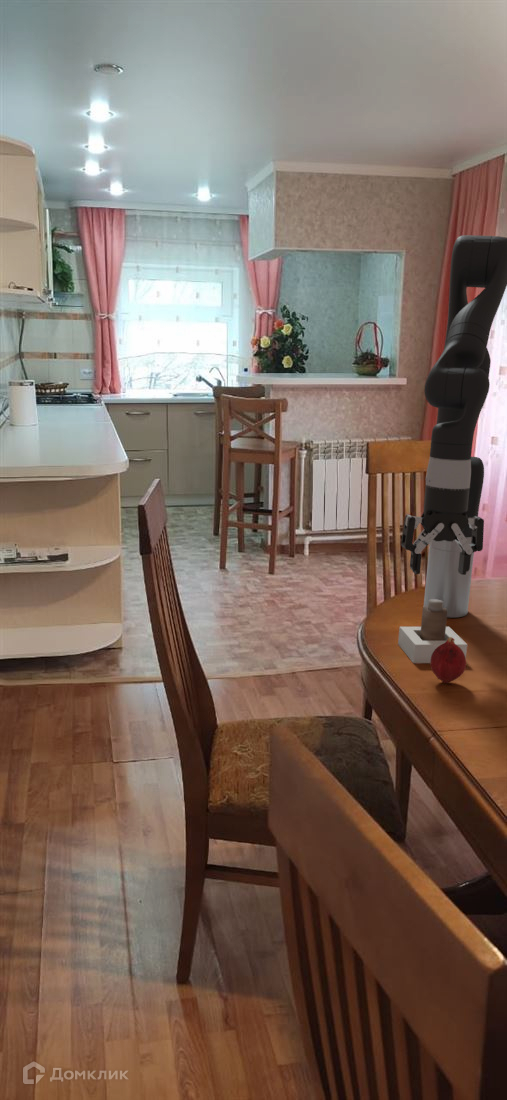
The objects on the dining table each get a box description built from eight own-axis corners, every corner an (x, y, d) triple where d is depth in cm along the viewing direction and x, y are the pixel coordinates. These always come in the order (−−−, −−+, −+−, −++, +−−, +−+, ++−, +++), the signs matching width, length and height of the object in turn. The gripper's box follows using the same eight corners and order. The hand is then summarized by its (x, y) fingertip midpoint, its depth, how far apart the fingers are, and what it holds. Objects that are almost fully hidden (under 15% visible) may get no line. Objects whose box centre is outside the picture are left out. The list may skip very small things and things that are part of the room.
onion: (464, 691, 137) (469, 645, 136) (428, 687, 139) (433, 642, 137) (463, 678, 143) (467, 634, 141) (428, 674, 144) (432, 630, 142)
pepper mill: (421, 647, 157) (426, 596, 155) (444, 651, 155) (450, 600, 153) (416, 655, 153) (421, 602, 151) (440, 659, 152) (446, 606, 149)
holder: (398, 644, 158) (399, 626, 157) (447, 644, 160) (448, 626, 159) (413, 663, 149) (415, 644, 148) (465, 662, 150) (467, 644, 149)
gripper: (414, 486, 142) (407, 578, 146) (495, 488, 144) (485, 579, 148) (402, 479, 150) (394, 567, 153) (478, 481, 151) (469, 568, 155)
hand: (439, 573), depth 150 cm, fingers open, 8 cm apart
